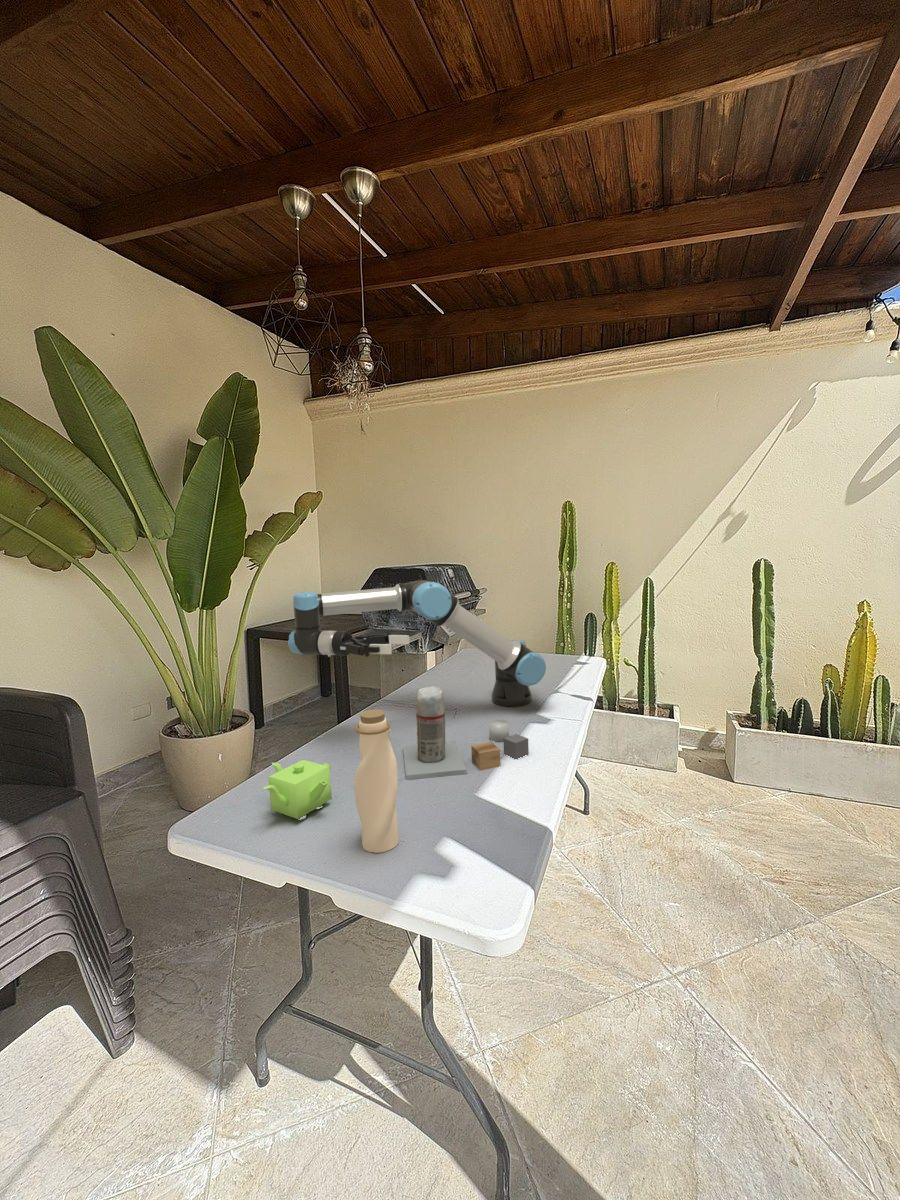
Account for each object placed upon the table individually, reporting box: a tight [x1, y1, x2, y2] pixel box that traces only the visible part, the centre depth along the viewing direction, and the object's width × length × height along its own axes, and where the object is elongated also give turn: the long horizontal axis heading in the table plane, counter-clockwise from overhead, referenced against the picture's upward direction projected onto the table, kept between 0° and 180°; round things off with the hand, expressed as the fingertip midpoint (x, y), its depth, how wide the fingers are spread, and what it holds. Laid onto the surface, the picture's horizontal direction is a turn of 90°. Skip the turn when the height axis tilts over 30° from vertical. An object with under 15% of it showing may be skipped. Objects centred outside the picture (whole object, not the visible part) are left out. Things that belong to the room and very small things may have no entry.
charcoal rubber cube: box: [502, 733, 530, 760], centre depth 153 cm, size 5×5×5 cm
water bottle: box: [353, 709, 400, 854], centre depth 111 cm, size 10×9×28 cm
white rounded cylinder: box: [488, 719, 510, 743], centre depth 165 cm, size 6×6×5 cm
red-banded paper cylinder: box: [415, 685, 446, 762], centre depth 150 cm, size 8×8×20 cm
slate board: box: [402, 741, 467, 781], centre depth 151 cm, size 20×16×1 cm
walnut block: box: [470, 741, 501, 771], centre depth 147 cm, size 6×6×5 cm
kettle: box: [262, 759, 333, 820], centre depth 126 cm, size 15×14×11 cm
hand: (400, 644), depth 158 cm, fingers open, 13 cm apart
